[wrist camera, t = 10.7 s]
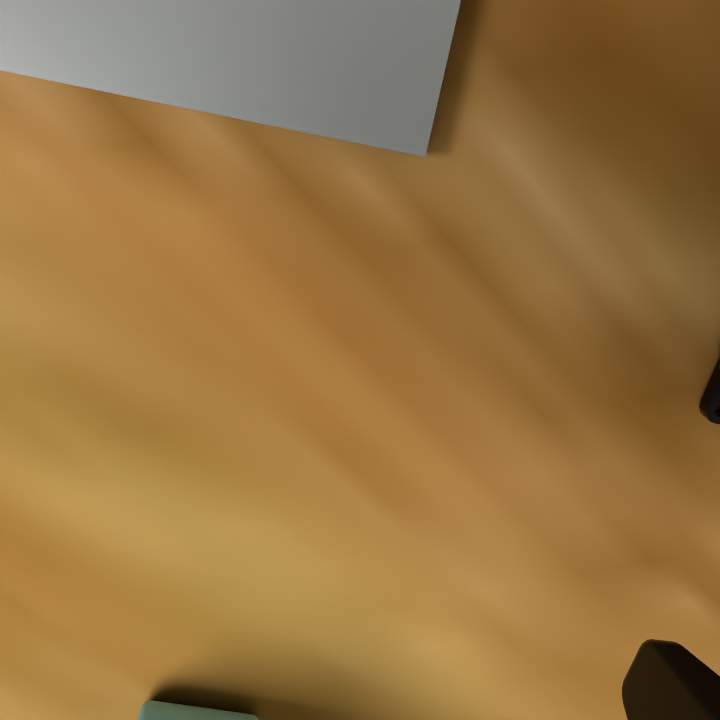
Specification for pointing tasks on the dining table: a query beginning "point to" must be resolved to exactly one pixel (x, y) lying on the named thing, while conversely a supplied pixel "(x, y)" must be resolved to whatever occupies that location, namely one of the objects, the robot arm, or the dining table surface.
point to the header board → (250, 59)
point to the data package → (187, 712)
